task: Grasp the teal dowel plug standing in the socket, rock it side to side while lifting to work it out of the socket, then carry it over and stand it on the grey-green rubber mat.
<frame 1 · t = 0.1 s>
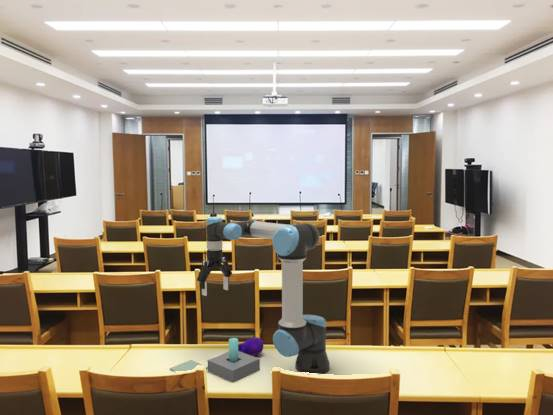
hand: (215, 292, 228), 28 cm above the table, fingers open, 13 cm apart
socket: (233, 370, 205), on the table
plug: (233, 355, 205), in the socket
toy: (247, 355, 222), on the table
mat: (188, 369, 207), on the table
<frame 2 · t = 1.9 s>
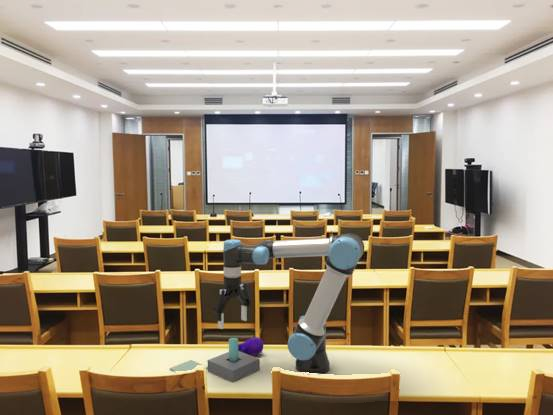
hand: (232, 324, 204), 21 cm above the table, fingers open, 13 cm apart
nothing on the table moved.
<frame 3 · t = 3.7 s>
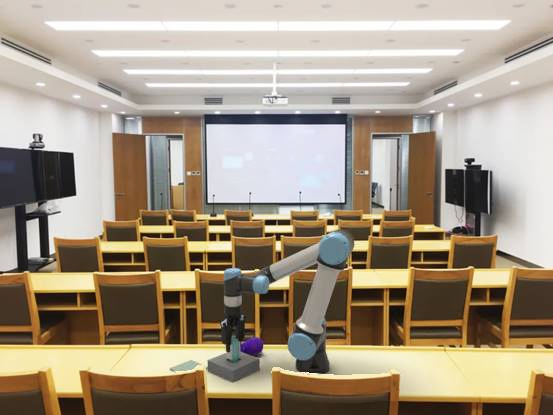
hand: (233, 356, 205), 6 cm above the table, fingers closed on plug, 4 cm apart
plug: (233, 355, 205), in the socket, touching gripper
everything else where it was.
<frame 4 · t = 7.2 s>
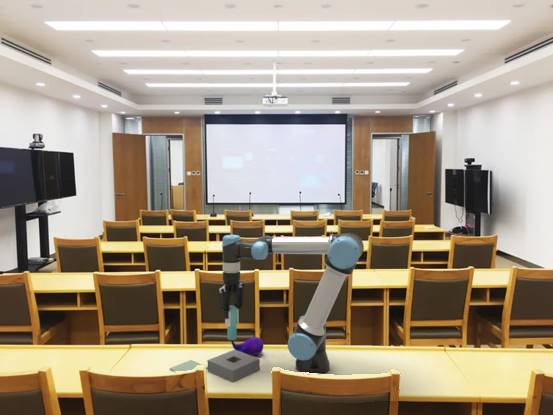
hand: (231, 324, 204), 21 cm above the table, fingers closed on plug, 4 cm apart
plug: (231, 322, 204), point 21 cm above the table, touching gripper
everything else where it was.
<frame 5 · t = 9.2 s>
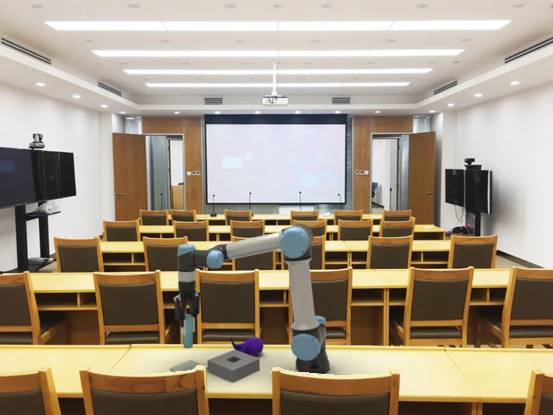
hand: (187, 332, 206), 17 cm above the table, fingers closed on plug, 4 cm apart
plug: (187, 331, 206), point 17 cm above the table, touching gripper
everything else where it was.
when the fingers open (8 cm above the table, at t = 10.9 s): plug drops 1 cm, resting on mat.
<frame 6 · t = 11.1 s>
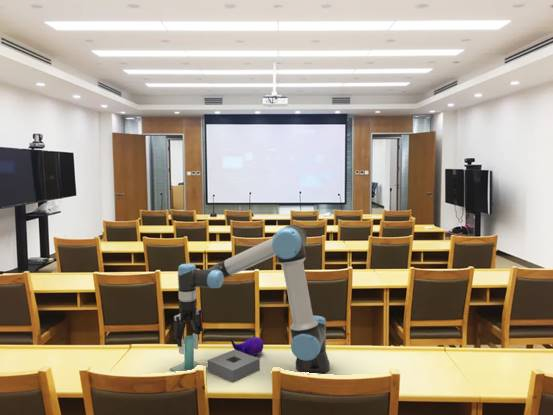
hand: (188, 350, 206), 8 cm above the table, fingers open, 7 cm apart
plug: (189, 352, 206), on the mat, point 8 cm above the table
everything else where it was.
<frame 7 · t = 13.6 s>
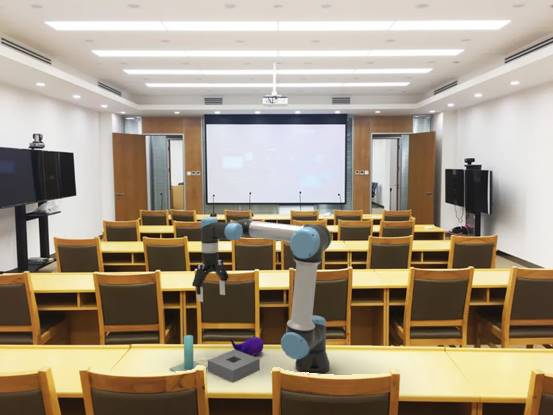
hand: (211, 297, 214), 29 cm above the table, fingers open, 13 cm apart
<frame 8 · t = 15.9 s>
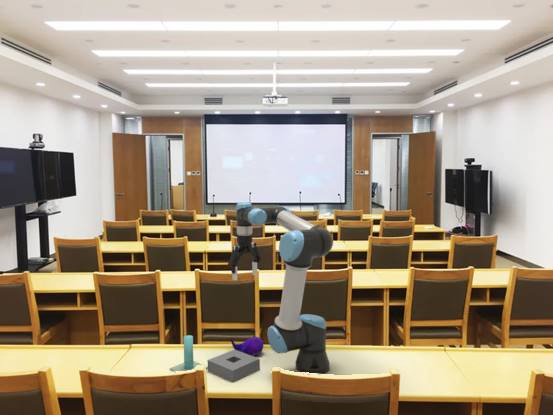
hand: (245, 277, 230), 35 cm above the table, fingers open, 13 cm apart
nothing on the table moved.
at the end: plug inside the target area on the mat (0.0 cm from its centre), point 7.6 cm above the mat's base; plug tilted 0°; plug touching mat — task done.
